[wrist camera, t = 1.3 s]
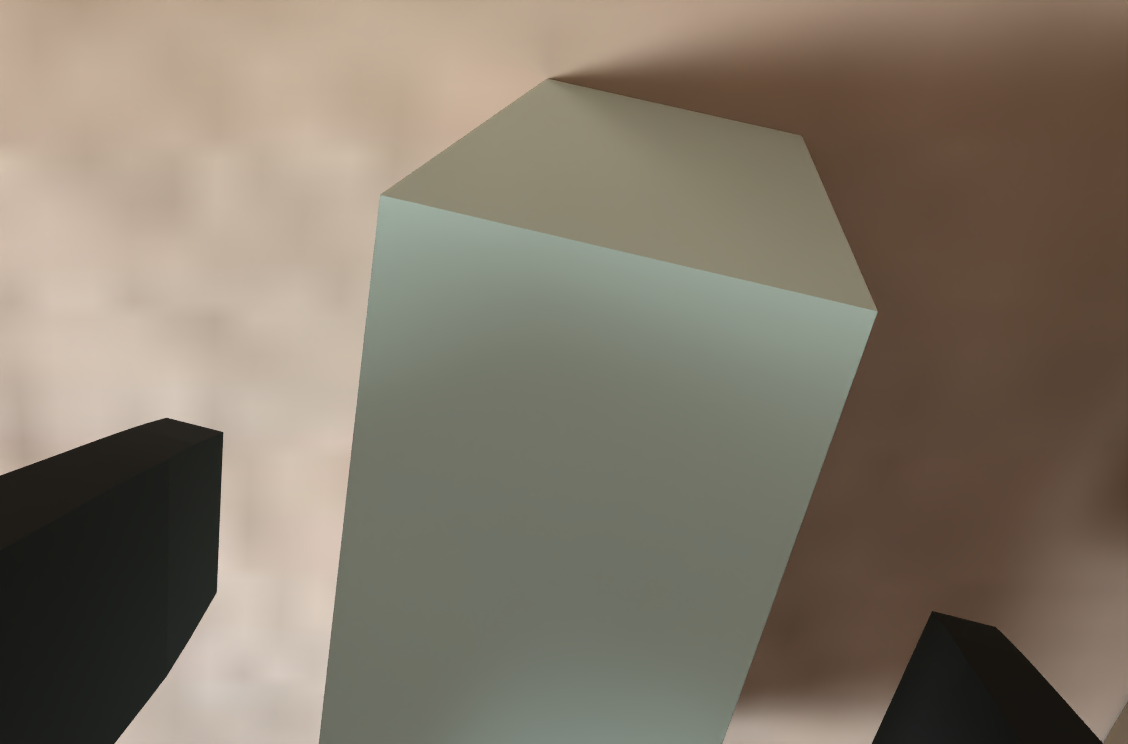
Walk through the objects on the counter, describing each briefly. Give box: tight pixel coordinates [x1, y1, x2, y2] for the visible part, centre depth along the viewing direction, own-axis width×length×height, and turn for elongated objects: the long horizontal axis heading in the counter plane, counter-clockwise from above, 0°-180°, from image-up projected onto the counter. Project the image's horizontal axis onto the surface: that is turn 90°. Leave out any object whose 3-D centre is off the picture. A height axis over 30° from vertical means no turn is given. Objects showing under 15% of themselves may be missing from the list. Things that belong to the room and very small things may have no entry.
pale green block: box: [319, 79, 878, 744], centre depth 10 cm, size 9×3×6 cm, turn 169°
